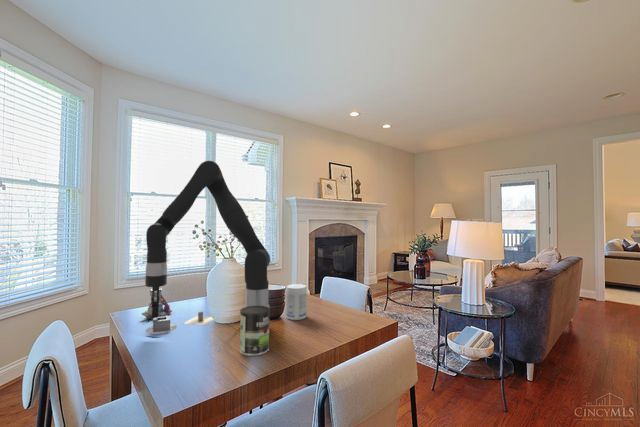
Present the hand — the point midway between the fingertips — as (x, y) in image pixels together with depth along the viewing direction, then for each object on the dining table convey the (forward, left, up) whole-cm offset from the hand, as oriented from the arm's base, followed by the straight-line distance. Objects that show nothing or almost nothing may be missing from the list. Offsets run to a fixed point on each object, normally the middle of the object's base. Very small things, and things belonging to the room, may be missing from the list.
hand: (155, 317), depth 121 cm
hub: (-2, -1, -6) cm, 7 cm away
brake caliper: (+11, -17, -7) cm, 21 cm away
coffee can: (-44, +8, -7) cm, 45 cm away
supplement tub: (-51, -29, -7) cm, 59 cm away
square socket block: (-2, -1, -5) cm, 5 cm away
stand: (-12, -13, -6) cm, 19 cm away
